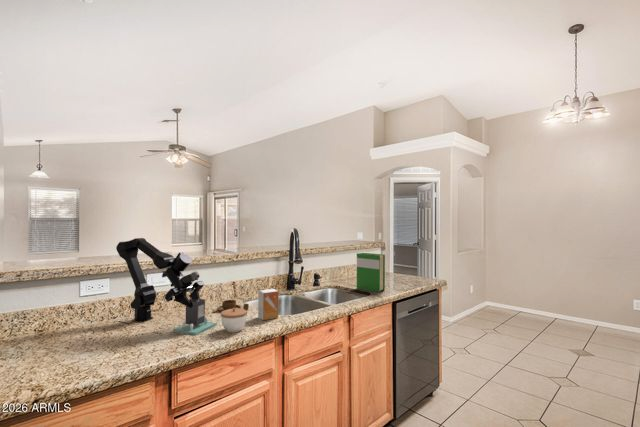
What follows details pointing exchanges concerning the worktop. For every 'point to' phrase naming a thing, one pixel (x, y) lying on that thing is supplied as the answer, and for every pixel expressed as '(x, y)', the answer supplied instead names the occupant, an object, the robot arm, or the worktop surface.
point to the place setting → (230, 306)
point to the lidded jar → (233, 319)
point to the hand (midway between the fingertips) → (196, 305)
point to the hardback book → (371, 272)
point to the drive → (195, 312)
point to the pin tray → (194, 327)
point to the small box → (268, 304)
